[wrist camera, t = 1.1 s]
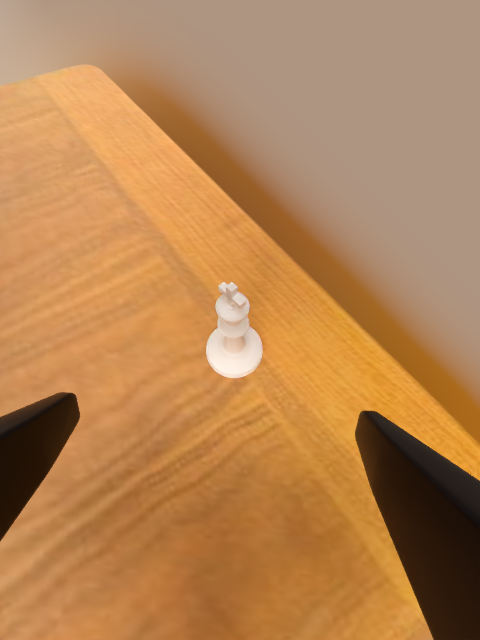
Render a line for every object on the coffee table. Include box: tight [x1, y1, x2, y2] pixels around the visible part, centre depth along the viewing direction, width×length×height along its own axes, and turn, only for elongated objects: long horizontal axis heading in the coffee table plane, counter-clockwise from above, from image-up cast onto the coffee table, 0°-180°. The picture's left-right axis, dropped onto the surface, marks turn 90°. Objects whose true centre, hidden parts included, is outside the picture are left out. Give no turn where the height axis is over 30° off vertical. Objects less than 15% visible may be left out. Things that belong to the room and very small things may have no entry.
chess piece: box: [206, 282, 263, 378], centre depth 17 cm, size 5×5×10 cm
